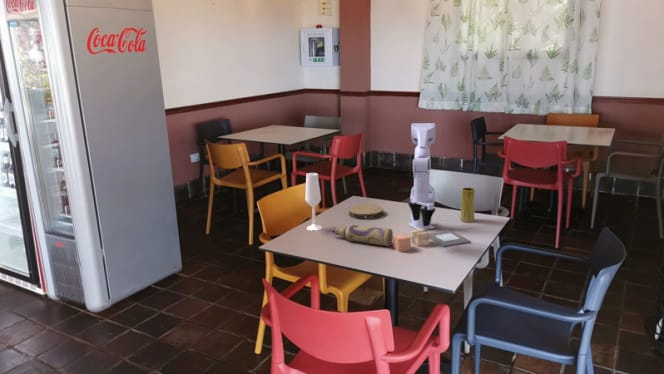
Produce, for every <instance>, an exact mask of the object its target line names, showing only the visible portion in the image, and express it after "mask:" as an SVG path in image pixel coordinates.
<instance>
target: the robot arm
mask: <svg viewBox="0 0 664 374" xmlns="http://www.w3.org/2000/svg"><path fill="white" fill-rule="evenodd" d="M410 129H411V133H410V134H411V135H410V137H411V141H412V144H413V145H416V146H415V148H414V158H413V159H412V172H413V186H412V188H411V190H410V191H411V192H410V197H409V200H410V202H408V203H407V204H408V206H409V208H410V222H408V225H409V226H410V227H412V228H414V230H418V229H424V230H426V231H427V230H432V229H435V228H436V227H435V226H434V225H432V217H433V215H434V213H435V212H436V208H434V206H435V197H436V196H435V188H434V186H432V185H430V172H431V169H432V168H431V165H432V162H431V161H432V160H431V150H430V146H431V145H434V144H435V141H436V123H434V122H433V123H428V122H427V123H425V122H424V123H418V122H417V123H415V122H413V123H412V124H411V128H410Z"/></svg>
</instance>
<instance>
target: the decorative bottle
mask: <svg viewBox="0 0 664 374" xmlns="http://www.w3.org/2000/svg"><path fill="white" fill-rule="evenodd" d="M331 232H332V233H334V235H338V236H340V237H344V238H346V240H348V241H349V242H356V243H363V244H370V245H378V246H384V247H390V246H391V245H392V244H393V235H394V234H393V233H394V232H393V230H392V229H391V228H385V227H377V226H369V225H360V224H349V226H348V227H345V226H344V227H333V228H332V229H331Z"/></svg>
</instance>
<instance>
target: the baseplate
mask: <svg viewBox="0 0 664 374" xmlns="http://www.w3.org/2000/svg"><path fill="white" fill-rule="evenodd" d="M429 240H432V241H433V242H435V243H436V244H438V245H439V246H440V247H443V248H447V247H451V246H453V247H454V246H459V245H464V244H471V243H472V242H471V240H469V239H468V238H466V237H464V236H462V235H461V234H459V233H457V232H456V231H453V230H452V229H451V230H445V231H438V232H432V233H430V232H429Z"/></svg>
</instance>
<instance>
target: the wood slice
mask: <svg viewBox="0 0 664 374" xmlns="http://www.w3.org/2000/svg"><path fill="white" fill-rule="evenodd" d="M348 215H349V216H348V217H350V218H353V219H355V220H361V221H362V220H364V221H367V220H375V219H379V218H382V217H383V215H384V207H382V206H381V205H378V204H371V203H362V204H361V203H360V204H356V205H353V206H352V205H351V206H350V207H349V208H348Z"/></svg>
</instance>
